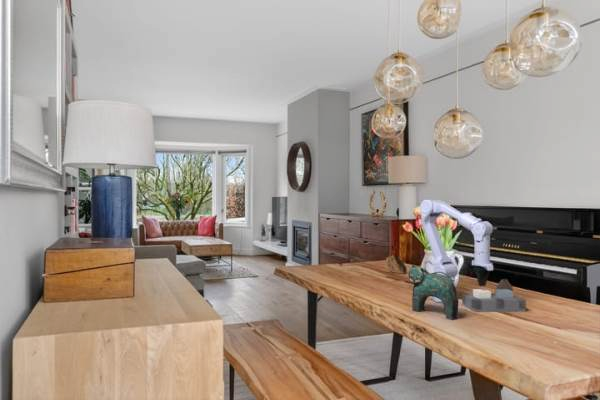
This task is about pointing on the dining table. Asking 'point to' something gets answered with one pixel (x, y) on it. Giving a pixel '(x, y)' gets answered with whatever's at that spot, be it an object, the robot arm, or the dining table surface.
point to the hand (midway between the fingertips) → (482, 285)
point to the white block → (481, 293)
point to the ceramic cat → (433, 290)
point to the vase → (504, 285)
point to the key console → (494, 303)
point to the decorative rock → (395, 264)
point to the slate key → (503, 293)
